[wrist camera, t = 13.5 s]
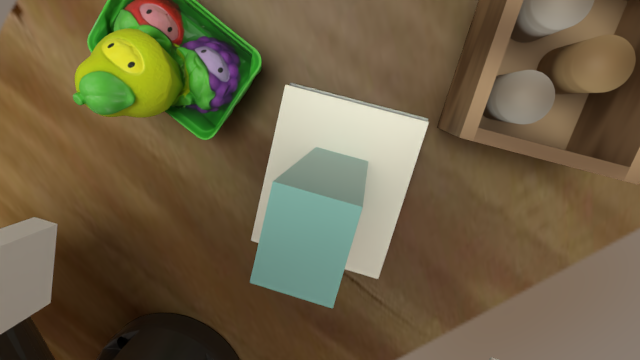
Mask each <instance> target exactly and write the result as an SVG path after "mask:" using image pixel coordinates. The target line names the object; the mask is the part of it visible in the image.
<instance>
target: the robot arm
mask: <svg viewBox="0 0 640 360" xmlns="http://www.w3.org/2000/svg"><path fill="white" fill-rule="evenodd" d="M56 235H57V224H56V223H52V222H49V221H46V220H43V219H39V218H36V217H33V218H30V219H27V220H24V221H22V222H19V223H16V224H13V225H10V226H7V227H4V228H1V229H0V360H55V358H54V357H53V355H52V353H51V351H50V350H49V348H48V346H47V344H46V343H45V341H44V339H43V338H42V336H41V334H40V332H39V331H38V329H37V327H36V325H35V324H34V322H33V320H32V319H31V317H30V316H31V315H32V314H34V313H35V312H37V311H39V310H40V309H42V308H43V307H45V306H47V305H48V304H50V303H51V292H52V281H53V269H54V258H55V247H56ZM96 360H239V359H238V357H237V355H236V354H235V352H234V351H233V350H232V348H231V347H230V346H229V345H228V343H227V342H226V341H225V340H224V339H223V338H222V337H221V336H220V335H218V334H217V333H216V332H215V331H213V330H212V329H211V328H209V327H208V326H206V325H204V324H202V323H201V322H199V321H196V320H194V319H192V318H189V317H186V316H182V315H178V314H171V313H155V314H149V315H145V316H142V317H139V318H137V319H135V320H133V321H132V322H130V323H128V324H127V325H126V326H125V327H124V328H122V329H121V330H120V331H119V332H118V333H117V334H116V335H115V336H114V337H113V338H112V339H110V340H109V342H108V343H107V344H106V345H105V346H104V348H103V349H102V351H101V352H100V354H99V356H98V357H97V359H96ZM490 360H498V359H495V358H492V357H491V358H490Z"/></svg>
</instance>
